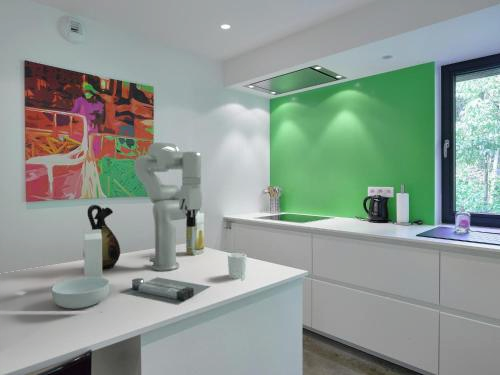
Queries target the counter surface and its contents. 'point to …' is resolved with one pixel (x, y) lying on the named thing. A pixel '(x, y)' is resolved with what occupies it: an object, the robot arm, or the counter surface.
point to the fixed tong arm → (164, 291)
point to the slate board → (130, 291)
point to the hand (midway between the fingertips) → (191, 226)
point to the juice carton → (195, 236)
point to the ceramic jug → (105, 236)
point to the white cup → (237, 265)
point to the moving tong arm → (139, 281)
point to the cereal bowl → (80, 292)
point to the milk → (93, 253)
